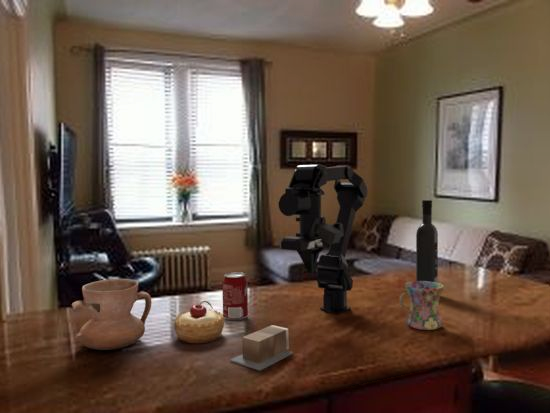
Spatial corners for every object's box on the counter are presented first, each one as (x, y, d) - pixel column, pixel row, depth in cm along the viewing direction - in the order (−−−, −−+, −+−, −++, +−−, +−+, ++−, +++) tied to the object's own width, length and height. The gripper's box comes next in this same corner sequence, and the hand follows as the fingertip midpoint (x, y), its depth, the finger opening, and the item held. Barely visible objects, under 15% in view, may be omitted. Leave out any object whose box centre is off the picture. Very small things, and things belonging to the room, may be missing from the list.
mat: (264, 345, 107) (264, 344, 106) (292, 353, 102) (292, 351, 102) (230, 361, 98) (230, 359, 98) (259, 370, 93) (259, 368, 93)
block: (272, 324, 106) (242, 337, 98) (288, 328, 103) (258, 341, 95) (272, 344, 106) (242, 358, 98) (288, 348, 103) (259, 363, 96)
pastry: (181, 329, 120) (180, 294, 119) (227, 328, 119) (226, 294, 119) (169, 346, 108) (167, 308, 107) (220, 346, 107) (219, 307, 107)
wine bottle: (438, 294, 149) (438, 200, 147) (433, 298, 144) (434, 201, 142) (420, 292, 152) (420, 199, 150) (415, 296, 147) (415, 200, 145)
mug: (426, 319, 124) (426, 279, 123) (451, 329, 116) (452, 286, 115) (388, 325, 119) (388, 284, 119) (412, 336, 111) (412, 292, 110)
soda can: (244, 322, 124) (243, 277, 123) (219, 321, 125) (218, 276, 125) (250, 315, 131) (249, 272, 130) (227, 314, 132) (226, 271, 131)
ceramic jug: (80, 362, 99) (77, 296, 98) (68, 342, 111) (65, 283, 110) (163, 344, 108) (161, 284, 108) (144, 328, 121) (142, 273, 120)
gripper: (316, 217, 109) (317, 283, 110) (355, 211, 124) (355, 270, 125) (278, 215, 116) (279, 278, 117) (319, 210, 131) (320, 266, 132)
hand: (310, 273), depth 122 cm, fingers closed
